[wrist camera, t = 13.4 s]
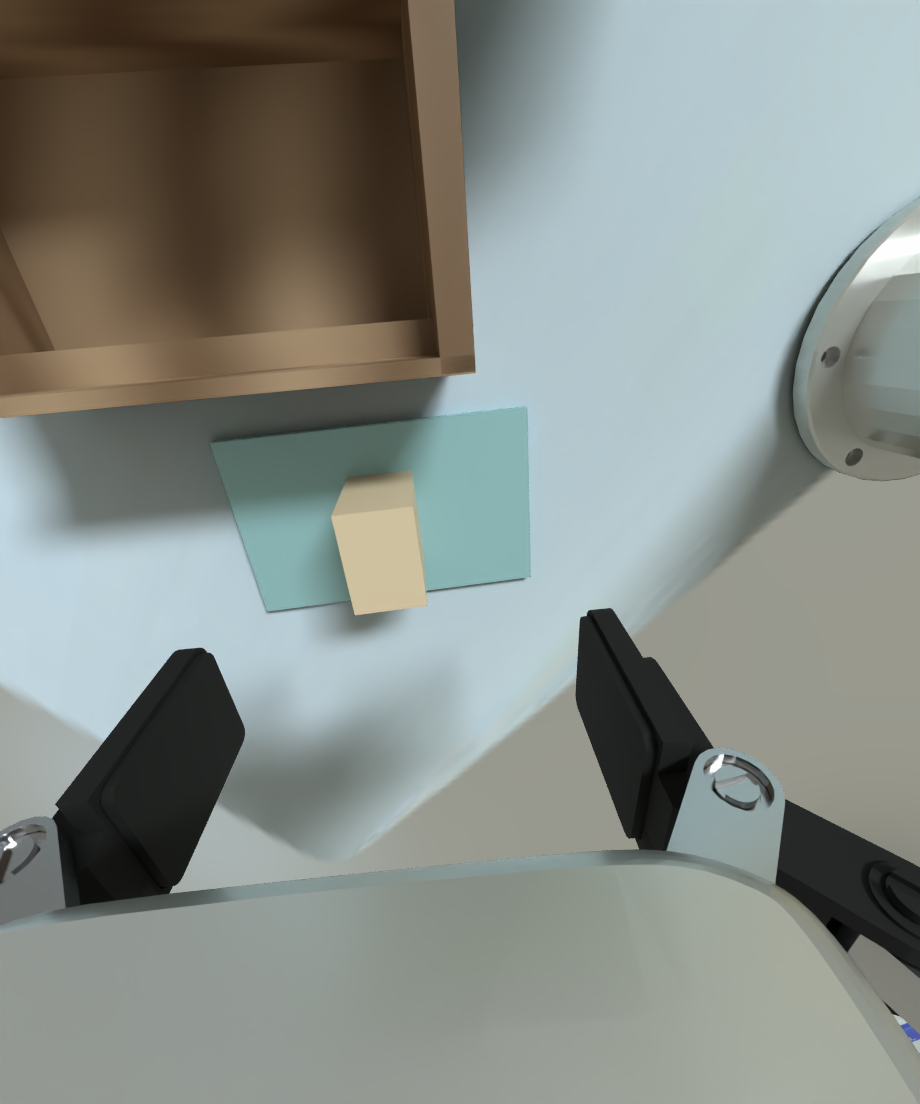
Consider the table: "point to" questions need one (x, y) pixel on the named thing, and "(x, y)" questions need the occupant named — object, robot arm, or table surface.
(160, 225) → the walnut box
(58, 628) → the table surface
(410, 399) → the table surface
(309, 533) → the cover plate
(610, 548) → the table surface
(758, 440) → the table surface
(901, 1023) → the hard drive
